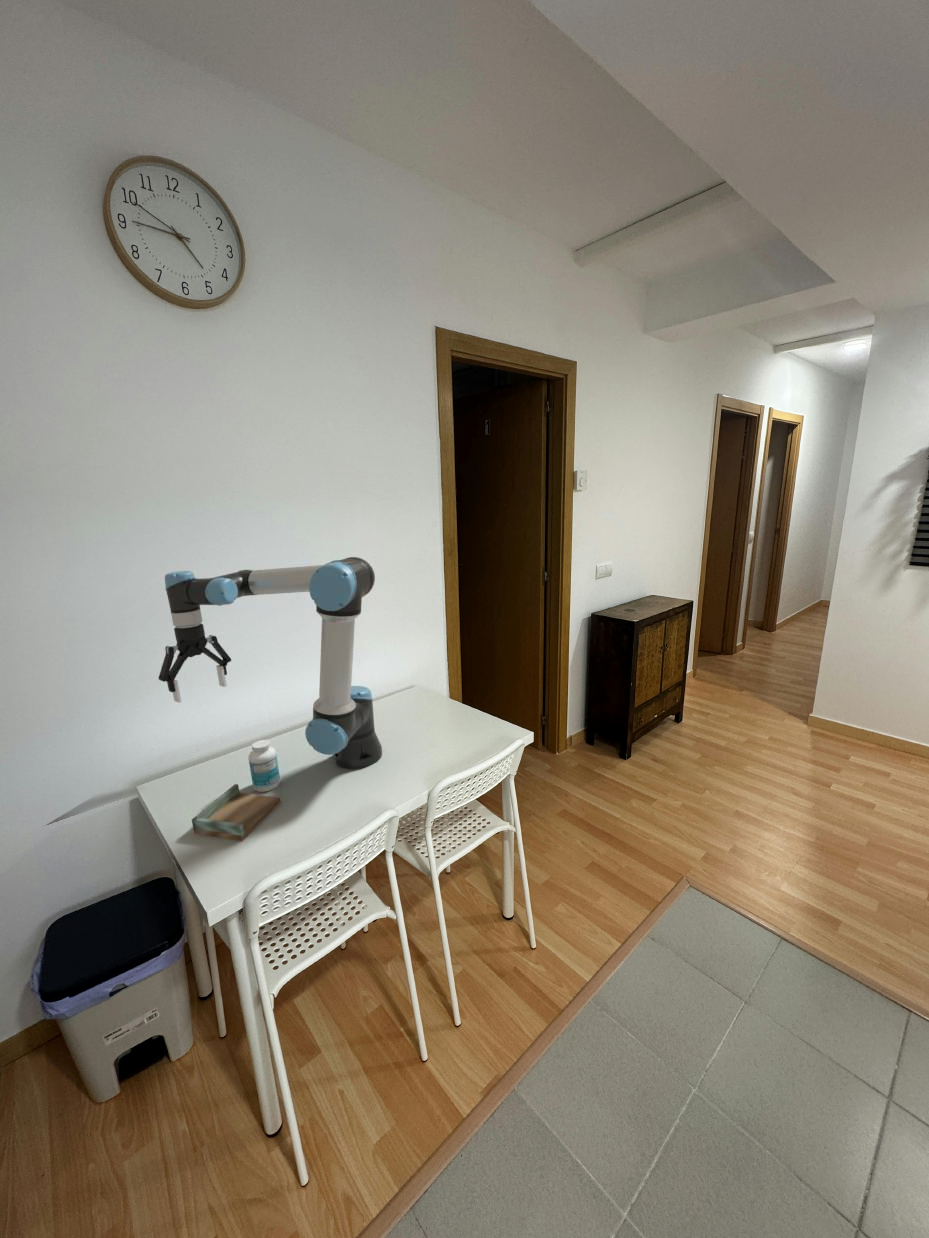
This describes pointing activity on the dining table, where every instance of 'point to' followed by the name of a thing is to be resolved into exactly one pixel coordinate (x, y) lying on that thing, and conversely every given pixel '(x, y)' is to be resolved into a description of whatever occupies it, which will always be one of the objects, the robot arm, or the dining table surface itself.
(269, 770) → the pill bottle
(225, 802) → the rail board
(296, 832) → the dining table surface
